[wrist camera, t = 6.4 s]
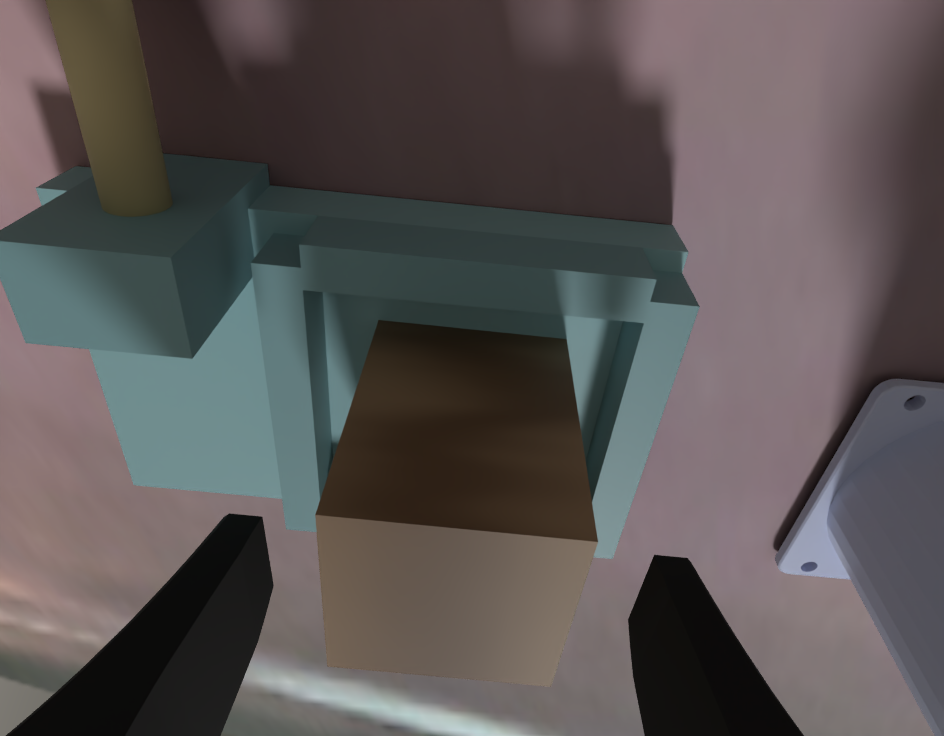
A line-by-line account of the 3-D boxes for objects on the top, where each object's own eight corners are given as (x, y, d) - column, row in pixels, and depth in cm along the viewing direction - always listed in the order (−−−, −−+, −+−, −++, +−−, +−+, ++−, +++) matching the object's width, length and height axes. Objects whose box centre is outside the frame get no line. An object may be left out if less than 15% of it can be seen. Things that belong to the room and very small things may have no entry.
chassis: (797, -204, 10) (994, -297, 6) (595, 491, 20) (619, 636, 16) (-57, -298, 10) (-447, -460, 6) (157, 450, 19) (65, 587, 15)
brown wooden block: (566, 339, 15) (597, 542, 10) (537, 473, 17) (551, 687, 12) (378, 319, 15) (314, 515, 10) (377, 457, 17) (327, 666, 12)
